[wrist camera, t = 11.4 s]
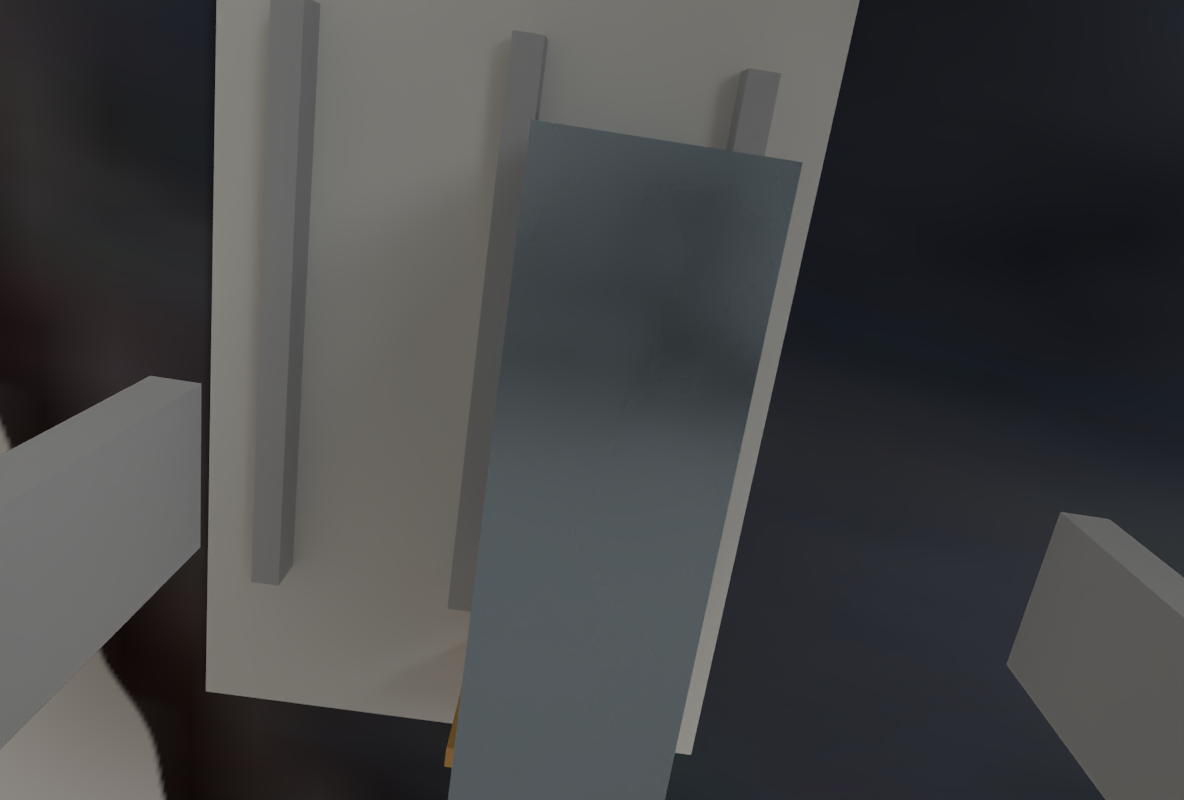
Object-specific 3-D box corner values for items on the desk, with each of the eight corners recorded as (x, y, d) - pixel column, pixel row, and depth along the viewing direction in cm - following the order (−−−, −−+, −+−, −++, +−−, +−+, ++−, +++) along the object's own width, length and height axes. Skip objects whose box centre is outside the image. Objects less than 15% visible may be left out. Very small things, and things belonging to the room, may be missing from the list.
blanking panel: (566, 128, 22) (530, 119, 11) (697, 149, 22) (802, 162, 11) (511, 538, 26) (440, 863, 14) (625, 554, 26) (645, 888, 14)
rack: (230, -235, 20) (98, -369, 15) (881, -124, 21) (978, -215, 15) (213, 679, 28) (122, 808, 23) (689, 742, 28) (709, 882, 23)
